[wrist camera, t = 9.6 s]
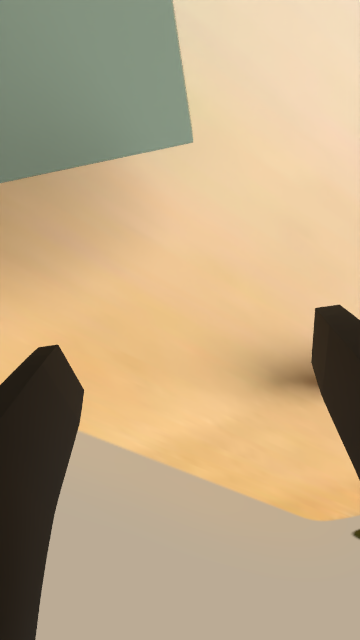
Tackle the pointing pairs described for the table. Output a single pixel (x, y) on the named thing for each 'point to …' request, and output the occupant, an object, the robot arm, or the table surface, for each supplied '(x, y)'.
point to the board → (88, 83)
